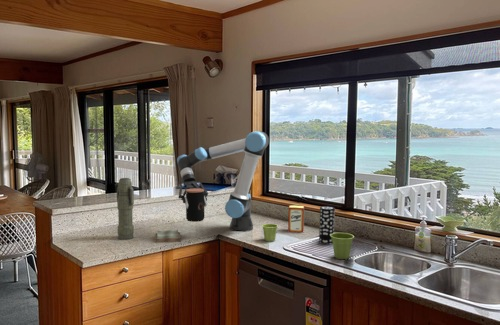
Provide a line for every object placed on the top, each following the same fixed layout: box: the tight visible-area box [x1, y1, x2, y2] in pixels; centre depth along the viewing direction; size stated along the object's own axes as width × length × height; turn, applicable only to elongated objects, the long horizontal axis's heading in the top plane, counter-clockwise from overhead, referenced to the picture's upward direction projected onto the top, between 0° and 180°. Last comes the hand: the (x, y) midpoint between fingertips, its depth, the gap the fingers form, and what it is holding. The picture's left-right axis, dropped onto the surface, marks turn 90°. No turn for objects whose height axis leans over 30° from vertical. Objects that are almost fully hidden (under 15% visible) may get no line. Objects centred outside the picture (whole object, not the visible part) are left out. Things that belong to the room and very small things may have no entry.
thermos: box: [116, 177, 135, 241], centre depth 239 cm, size 9×12×35 cm
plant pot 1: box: [261, 223, 279, 242], centre depth 239 cm, size 9×9×9 cm
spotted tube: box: [318, 206, 336, 245], centre depth 235 cm, size 8×8×20 cm
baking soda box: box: [287, 205, 305, 233], centre depth 260 cm, size 10×6×16 cm
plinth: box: [154, 229, 181, 244], centre depth 239 cm, size 14×14×4 cm
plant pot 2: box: [330, 232, 355, 260], centre depth 208 cm, size 12×12×11 cm
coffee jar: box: [185, 187, 205, 223], centre depth 241 cm, size 11×11×18 cm
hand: (196, 206), depth 239 cm, fingers closed on coffee jar, 11 cm apart
